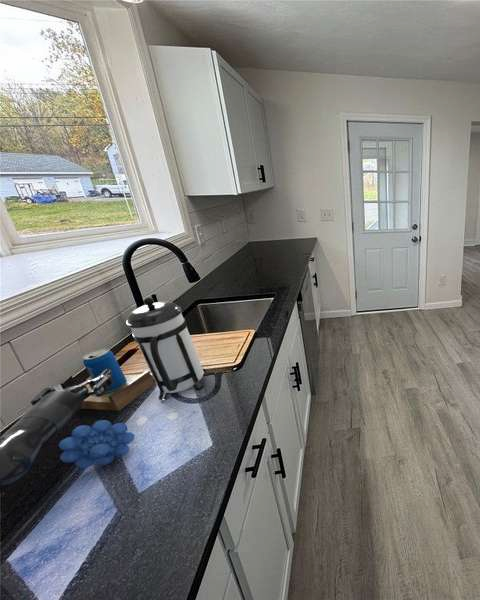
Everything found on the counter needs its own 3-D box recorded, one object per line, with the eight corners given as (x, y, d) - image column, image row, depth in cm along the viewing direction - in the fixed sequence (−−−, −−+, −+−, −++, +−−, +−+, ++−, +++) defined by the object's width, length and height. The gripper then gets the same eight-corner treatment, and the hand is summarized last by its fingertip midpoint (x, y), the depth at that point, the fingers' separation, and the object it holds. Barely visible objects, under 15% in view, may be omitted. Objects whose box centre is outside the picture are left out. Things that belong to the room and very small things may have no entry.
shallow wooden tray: (67, 407, 92) (59, 394, 90) (108, 381, 103) (101, 369, 101) (119, 411, 89) (111, 397, 87) (155, 383, 100) (149, 371, 98)
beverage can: (94, 393, 92) (74, 359, 87) (117, 379, 98) (100, 346, 93) (110, 395, 91) (91, 361, 86) (133, 381, 96) (116, 348, 92)
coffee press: (140, 398, 94) (95, 307, 82) (191, 367, 107) (158, 286, 95) (178, 411, 87) (134, 315, 75) (227, 377, 100) (196, 291, 88)
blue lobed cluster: (77, 492, 66) (48, 451, 61) (74, 474, 70) (47, 434, 65) (144, 456, 74) (122, 417, 69) (138, 441, 78) (117, 403, 73)
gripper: (79, 394, 72) (115, 357, 86) (1, 411, 68) (51, 370, 83) (94, 419, 75) (126, 380, 89) (20, 436, 71) (65, 392, 86)
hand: (90, 375), depth 86 cm, fingers open, 8 cm apart
